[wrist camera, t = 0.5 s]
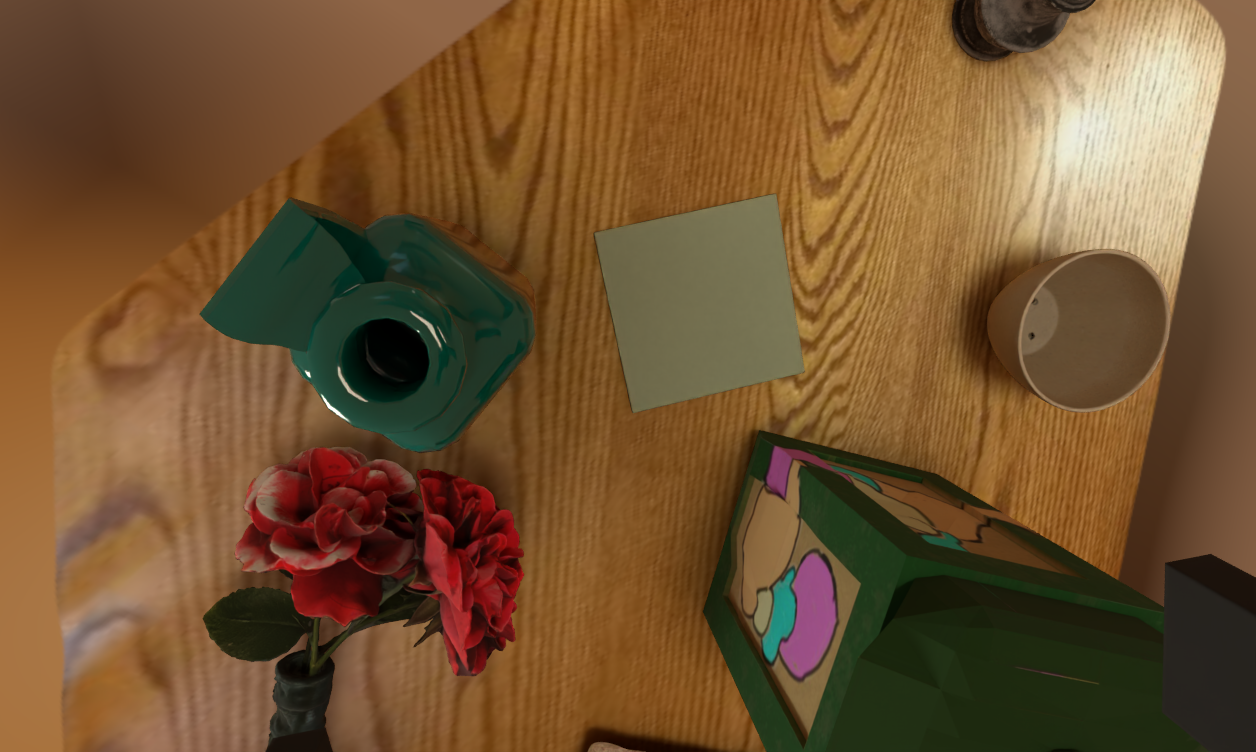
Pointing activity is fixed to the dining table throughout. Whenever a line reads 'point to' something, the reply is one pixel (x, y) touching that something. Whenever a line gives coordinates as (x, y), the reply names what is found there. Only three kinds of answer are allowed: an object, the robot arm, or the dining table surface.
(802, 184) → the dining table surface
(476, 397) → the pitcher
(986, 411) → the dining table surface
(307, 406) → the dining table surface
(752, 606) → the container
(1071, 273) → the flower pot
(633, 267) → the mat
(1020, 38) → the grey chess piece
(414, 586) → the carnation
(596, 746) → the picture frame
